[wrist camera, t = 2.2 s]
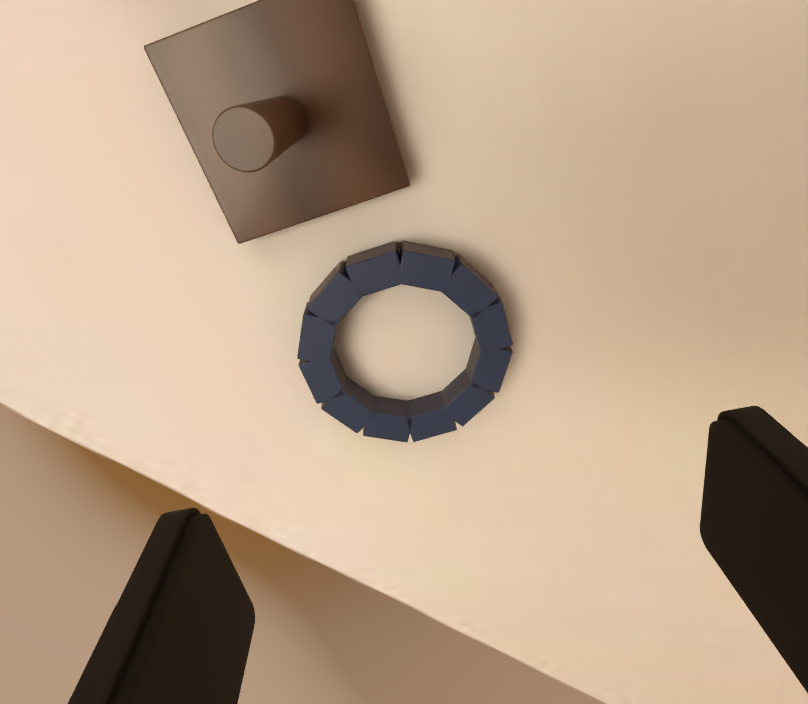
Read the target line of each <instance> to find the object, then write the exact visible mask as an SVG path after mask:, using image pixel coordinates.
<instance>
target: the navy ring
mask: <svg viewBox="0 0 808 704" xmlns="http://www.w3.org/2000/svg"><path fill="white" fill-rule="evenodd" d="M400 284H404V285H409V286H415V287H420V288H425V289H430V290H436V291H441V292H442V293H444V294H445V295H446V296H447V297H448V298H449V299H451V300H452V301H453V302H454V303H455V304H456V305H458V306H459V307H460V308H461V309H462V310H463V311H465V312H466V313H467V314H468V315H469V316H470V319H471V323H472V326H473V330H474V333H475V336H476V338H475V341H474V344H473V347H472V351H471V354H470V357H469V361H468V364H467V367H466V369H465V370H464V371H463V372H462V373H461V374H460V375H459V376H458V377H457V378H456V379H455V380H454V381H452V382H451V383H450V384H449V385H448V386H447V387H446V388H445V389H444V390H443V391H442V392H438V393H435V394H432V395H428V396H425V397H421V398H418V399H414V400H411V401H402V400H396V399H390V398H383V397H377V396H373V395H372V394H370V393H369V392H368V391H366V390H365V389H363V388H362V387H361V386H359V385H358V384H357V383H355V382H354V381H352V380H351V379H350V378H348V377H347V376H346V374H345V372H344V370H343V367H342V365H341V363H340V361H339V358H338V356H337V354H336V351H335V349H334V347H333V344H334V338H335V332H336V326H337V324H338V323H339V322H340V320H341V319H342V318H343V317H344V316H345V315H346V314H347V313H348V312H349V311H350V310H351V308H352V307H353V306H354V305H355V304H356V303H357V302H358V301H359V300H360V299H361V298H362V296H365V295H369V294H372V293H375V292H378V291H381V290H384V289H387V288H390V287H394V286H397V285H400ZM512 344H513V343H512V339H511V335H510V331H509V327H508V323H507V319H506V316H505V312H504V308H503V304H502V302H501V300H500V298H499V296H498V294H497V292H496V291H495V289H494V287H493V285H492V284H491V283H490V282H489V281H488V280H487V279H486V278H484V277H483V276H482V275H481V274H480V273H479V272H478V271H477V270H476V269H475V268H473V267H472V266H471V265H470V264H469V263H468V262H467V261H466V260H465V259H464V258H462V257H461V256H460V255H459V254H457V255H456V256H455V257H454V256H453V254H452V251H451V250H446V249H441V248H436V247H431V246H426V245H421V244H416V243H411V242H406V241H403V242H402V244H401V249H400V254H399V251H398V248H397V245H396V243H395V242H391V243H388V244H385V245H382V246H379V247H376V248H373V249H370V250H367V251H364V252H361V253H358V254H355V255H352V256H349V257H347V262H346V264H344V263H343V262H342V261H341V262H340V263H339V264H338V265H337V266H336V267H335V268H334V269H333V271H332V272H331V273H330V274H329V275H328V276H327V278H326V279H325V280H324V281H323V282H322V283H321V284H320V286H319V287H318V288H317V289H316V290H315V291H314V292H313V294H312V295H311V297H310V300H309V302H308V303H307V305H306V308H305V311H304V314H303V321H302V328H301V335H300V342H299V350H298V357H297V358H298V359H300V362H299V367H300V369H301V371H302V374H303V376H304V378H305V380H306V382H307V384H308V386H309V388H310V390H311V392H312V394H313V396H314V399H315V401H316V403H317V404H318V403H322V407H321V409H322V410H324V411H325V412H327V413H328V414H330V415H331V416H333V417H334V418H335V419H337V420H338V421H340V422H341V423H343V424H344V425H346V426H347V427H349V428H350V429H351V430H353V431H354V432H356V433H358V432H359V431H360V430H361V429H362V428H363V436H368V437H375V438H382V439H388V440H395V441H401V442H408V438H409V434H411V437H412V439H413V441H414V442H416V441H419V440H423V439H426V438H430V437H433V436H437V435H440V434H444V433H447V432H451V431H455V430H457V428H456V423H455V421H456V422H457V423H458V424H460V425H461V426H464V425H465V424H466V423H467V422H468V421H469V420H470V419H472V418H473V417H474V416H475V415H476V414H477V413H478V412H479V411H481V410H482V409H483V408H484V407H485V406H486V405H487V404H488V403H490V402H491V401H492V400H493V399H494V398H495V396H494V394H493V392H499V390H500V387H501V385H502V382H503V379H504V376H505V373H506V370H507V367H508V364H509V361H510V358H511V355H512V353H513V352H512V349H511V347H510V346H512Z"/></svg>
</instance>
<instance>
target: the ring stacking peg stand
mask: <svg viewBox="0 0 808 704" xmlns="http://www.w3.org/2000/svg"><path fill="white" fill-rule="evenodd" d="M144 49H145V51H146V53H147V55H148V57H149V59H150V61H151V64H152V66H153V68H154V70H155V72H156V74H157V76H158V78H159V80H160V82H161V84H162V86H163V88H164V91H165V93H166V95H167V97H168V99H169V101H170V103H171V105H172V107H173V109H174V111H175V113H176V115H177V118H178V120H179V122H180V124H181V126H182V128H183V130H184V132H185V134H186V136H187V138H188V140H189V142H190V145H191V147H192V149H193V151H194V153H195V155H196V157H197V159H198V161H199V163H200V165H201V167H202V169H203V172H204V174H205V176H206V178H207V180H208V182H209V184H210V186H211V188H212V190H213V192H214V194H215V196H216V199H217V201H218V203H219V205H220V207H221V209H222V211H223V213H224V215H225V217H226V219H227V221H228V223H229V226H230V228H231V230H232V232H233V234H234V236H235V238H236V240H237V242H238V244H241V243H243V242H246V241H249V240H252V239H255V238H258V237H261V236H264V235H267V234H270V233H273V232H276V231H279V230H282V229H285V228H288V227H290V226H293V225H296V224H299V223H302V222H305V221H308V220H311V219H314V218H317V217H320V216H323V215H326V214H329V213H332V212H335V211H338V210H340V209H343V208H346V207H349V206H352V205H355V204H358V203H361V202H364V201H367V200H370V199H373V198H376V197H379V196H382V195H385V194H387V193H390V192H393V191H396V190H399V189H402V188H405V187H408V186H410V182H409V178H408V175H407V172H406V169H405V165H404V162H403V159H402V156H401V153H400V149H399V146H398V143H397V140H396V136H395V133H394V130H393V127H392V123H391V120H390V117H389V114H388V110H387V107H386V104H385V101H384V98H383V94H382V91H381V88H380V85H379V81H378V78H377V75H376V72H375V68H374V65H373V62H372V59H371V55H370V52H369V49H368V46H367V43H366V39H365V36H364V33H363V30H362V26H361V23H360V20H359V17H358V13H357V10H356V7H355V4H354V0H259V1H257V2H254V3H252V4H249V5H247V6H244V7H241V8H239V9H236V10H234V11H231V12H229V13H226V14H224V15H221V16H219V17H216V18H214V19H211V20H209V21H206V22H203V23H201V24H198V25H196V26H193V27H191V28H188V29H186V30H183V31H181V32H178V33H176V34H173V35H171V36H168V37H165V38H163V39H160V40H158V41H155V42H153V43H150V44H148V45H145V46H144Z"/></svg>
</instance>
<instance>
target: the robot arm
mask: <svg viewBox="0 0 808 704" xmlns="http://www.w3.org/2000/svg"><path fill="white" fill-rule="evenodd" d="M700 533H701V537H702V540H703V542H704V545H705V546H706V548H707V550H708V551H709V553H710V554H711V555H712V557H713V558H714V560H715V561H716V563H717V564H718V565H719V567H720V568H721V570H722V571H723V573H724V574H725V575H726V577H727V578H728V580H729V581H730V583H731V584H732V585H733V587H734V588H735V590H736V591H737V593H738V594H739V596H740V597H741V598H742V600H743V601H744V603H745V604H746V606H747V607H748V608H749V610H750V611H751V613H752V614H753V616H754V617H755V618H756V620H757V621H758V623H759V624H760V626H761V627H762V628H763V630H764V631H765V633H766V634H767V636H768V637H769V638H770V640H771V641H772V643H773V644H774V646H775V647H776V648H777V650H778V651H779V653H780V654H781V656H782V657H783V658H784V660H785V661H786V663H787V664H788V666H789V667H790V668H791V670H792V671H793V673H794V674H795V676H796V677H797V678H798V680H799V681H800V683H801V684H802V686H803V687H804V688H805V690H806V691H807V693H808V448H807V447H806V446H805V445H804V444H803V443H802V442H800V441H799V440H798V439H797V438H796V437H795V436H794V435H792V434H791V433H790V432H789V431H788V430H787V429H785V428H784V427H783V426H782V425H781V424H780V423H778V422H777V421H776V420H775V419H774V418H773V417H772V416H770V415H769V414H768V413H767V412H766V411H765V410H763V409H762V408H760V407H758V406H750V407H745V408H739V409H734V410H728V411H723V412H721V413H720V414H719V416H718V419H717V421H714V422H712V423H711V424H710V428H709V437H708V447H707V458H706V468H705V479H704V489H703V500H702V510H701V521H700ZM254 624H255V613H254V607H253V604H252V602H251V600H250V598H249V596H248V594H247V592H246V590H245V588H244V586H243V584H242V582H241V580H240V577H239V576H238V573H237V571H236V569H235V567H234V565H233V563H232V561H231V559H230V557H229V555H228V553H227V551H226V549H225V547H224V545H223V543H222V541H221V539H220V537H219V535H218V533H217V531H216V529H215V526H214V524H213V522H212V520H211V518H210V517H209V515H207V514H201V513H200V512H199V510H198V509H196V508H189V509H183V510H178V511H172V512H168V513H164V514H162V515H161V516H160V518H159V519H158V521H157V523H156V526H155V527H154V529H153V531H152V534H151V536H150V538H149V540H148V542H147V544H146V546H145V548H144V550H143V552H142V554H141V556H140V558H139V560H138V562H137V564H136V566H135V568H134V571H133V572H132V575H131V577H130V579H129V581H128V583H127V585H126V587H125V589H124V591H123V593H122V595H121V597H120V599H119V601H118V603H117V605H116V606H115V608H114V610H113V612H112V614H111V616H110V618H109V620H108V622H107V624H106V626H105V628H104V631H103V633H102V635H101V637H100V639H99V641H98V643H97V645H96V647H95V649H94V651H93V653H92V655H91V657H90V659H89V661H88V663H87V665H86V667H85V670H84V671H83V674H82V676H81V678H80V680H79V682H78V684H77V686H76V688H75V690H74V692H73V694H72V696H71V698H70V700H69V702H68V704H237V702H238V698H239V693H240V689H241V684H242V679H243V675H244V670H245V666H246V661H247V657H248V652H249V648H250V643H251V639H252V633H253V630H254Z"/></svg>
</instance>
